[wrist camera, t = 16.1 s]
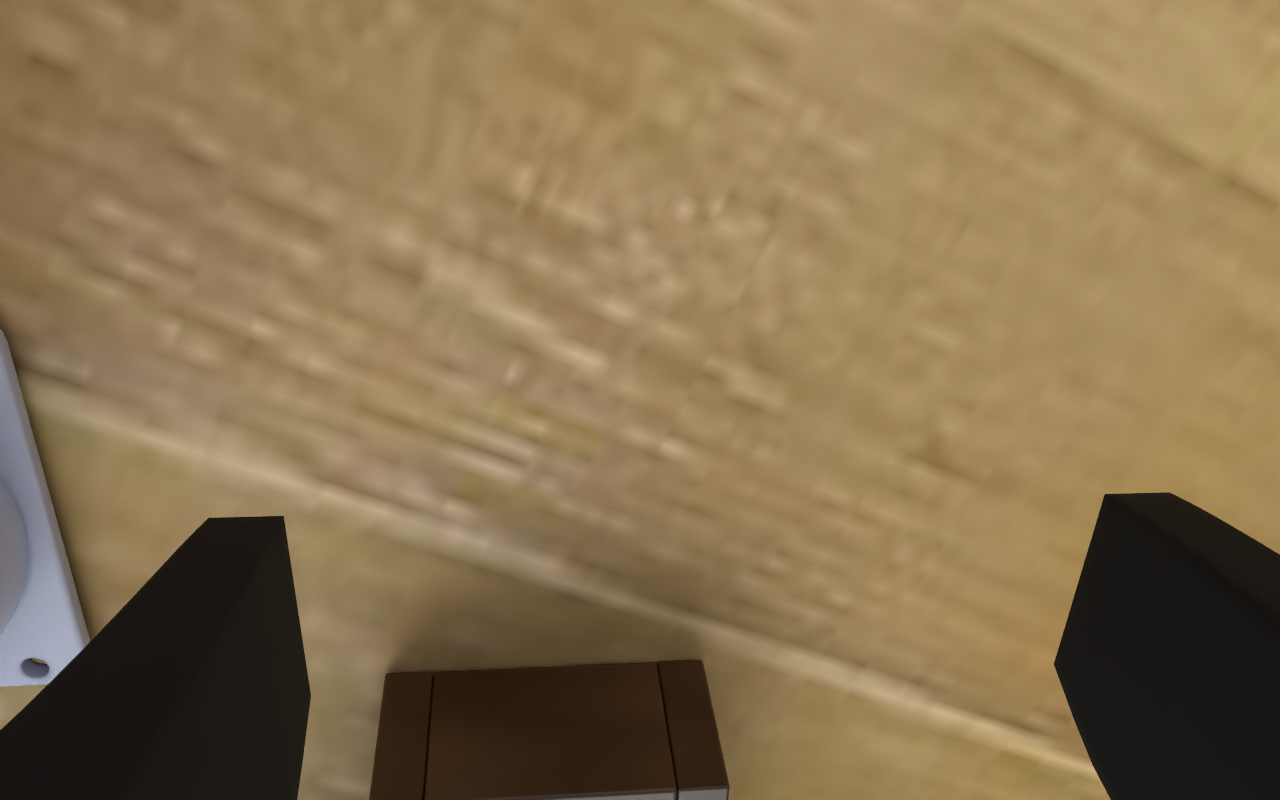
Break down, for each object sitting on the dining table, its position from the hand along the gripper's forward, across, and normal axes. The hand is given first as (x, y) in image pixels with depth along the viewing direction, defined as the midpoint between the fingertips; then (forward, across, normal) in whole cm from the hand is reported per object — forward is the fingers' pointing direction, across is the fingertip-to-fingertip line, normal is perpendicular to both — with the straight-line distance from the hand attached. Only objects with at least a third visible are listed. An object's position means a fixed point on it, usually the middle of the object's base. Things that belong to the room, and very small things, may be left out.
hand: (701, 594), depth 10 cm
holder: (+10, +1, +14) cm, 18 cm away
